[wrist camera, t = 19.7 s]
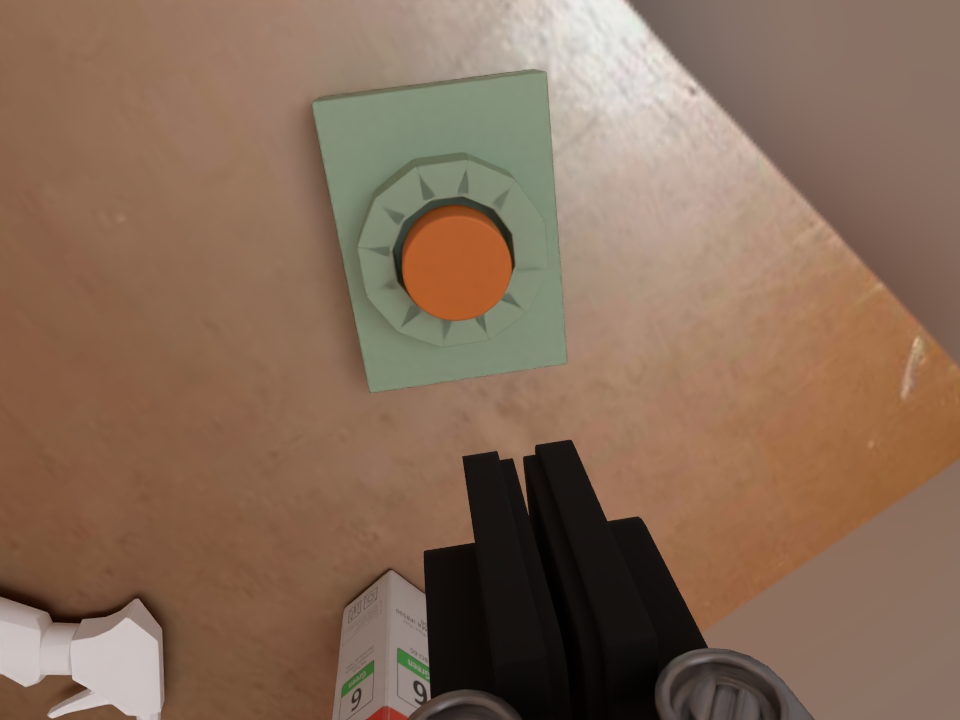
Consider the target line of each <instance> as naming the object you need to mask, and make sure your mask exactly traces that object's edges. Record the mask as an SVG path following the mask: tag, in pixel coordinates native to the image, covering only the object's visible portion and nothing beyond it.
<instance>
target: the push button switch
mask: <svg viewBox="0 0 960 720" xmlns="http://www.w3.org/2000/svg"><path fill="white" fill-rule="evenodd" d="M511 271H512V261H511V256H510V252H509V249H508V247H507V244H506V242H505V240H504V239H503V237H502V235H501V233H500V231H499V229H498V228H497V226H496V225H495V224H494V222H493V221H492V220H491V219H490V218H489V217H487V216H486V215H485V214H483V213H482V212H480V211H478V210H476V209H474V208H471V207H468V206H463V205H445V206H441V207H438V208H435V209H432V210H430V211H428V212H427V213H425V214H424V215H422V216H421V217H420V218H419V219H418V220H417V221H416V222H415V223H414V224H413V225H412V227H411V228H410V230H409V231H408V233H407V235H406V237H405V241H404V244H403V249H402V273H403V280H404V284H405V286H406V289H407V291H408V293H409V295H410V297H411V298H412V299H413V301H414V302H415V303H416V304H417V305H418V306H419V307H420V308H421V309H423V310H424V311H425V312H427V313H429V314H430V315H432V316H435V317H437V318H440V319H444V320H450V321H461V320H468V319H472V318H475V317H478V316H480V315H482V314H484V313H485V312H487V311H489V310H490V309H491V308H492V307H494V306H495V305H496V304H497V303H498V302H499V300H500V299H501V298H502V296H503V295H504V293H505V291H506V289H507V287H508V285H509V282H510V278H511Z"/></svg>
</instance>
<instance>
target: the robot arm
mask: <svg viewBox="0 0 960 720" xmlns="http://www.w3.org/2000/svg"><path fill="white" fill-rule="evenodd" d="M462 458H463V465H464V472H465V478H466V485H467V492H468V499H469V505H470V512H471V519H472V526H473V532H474V539H475V543H470V544H464V545H458V546H451V547H445V548H439V549H433V550H427V551H424V574H425V595H426V615H427V636H428V656H429V677H430V697H431V700H429V701H427V702H425V703H424V704H423V705H422V706H420V707H419V708H418V709H417V710H415V711H414V712H413V713H412V714H411V715H410V716H409V718H408V719H407V720H814V718H813V717H812V716H811V715H810V713H809V712H808V711H807V710H806V708H805V707H804V706H803V705H802V703H801V702H800V701H799V700H798V698H797V697H796V696H795V695H794V693H793V692H792V691H791V690H790V689H789V687H788V686H787V685H786V684H785V682H784V681H783V680H782V679H781V678H780V677H778V676H777V675H776V674H775V673H774V672H773V671H772V670H771V669H770V668H769V667H768V666H766V665H764V664H762V663H761V662H759V661H757V660H755V659H754V658H752V657H751V656H748V655H745V654H742V653H738V652H735V651H732V650H728V649H716V648H708V646H707V644H706V643H705V641H704V639H703V637H702V635H701V633H700V631H699V629H698V627H697V625H696V623H695V621H694V619H693V617H692V615H691V613H690V611H689V609H688V607H687V605H686V603H685V601H684V599H683V597H682V596H681V594H680V592H679V590H678V588H677V586H676V584H675V582H674V580H673V578H672V576H671V574H670V572H669V570H668V568H667V566H666V564H665V562H664V560H663V558H662V556H661V554H660V552H659V551H658V549H657V547H656V545H655V543H654V541H653V539H652V537H651V535H650V533H649V531H648V529H647V527H646V525H645V524H644V522H643V520H642V519H641V518H639V517H631V518H625V519H619V520H613V521H607V520H606V517H605V515H604V513H603V510H602V508H601V506H600V503H599V501H598V499H597V497H596V494H595V492H594V490H593V487H592V485H591V483H590V481H589V478H588V476H587V474H586V471H585V469H584V467H583V464H582V462H581V460H580V458H579V455H578V453H577V451H576V448H575V446H574V444H573V442H572V440H565V441H559V442H552V443H546V444H539V445H536V446H535V455H530V456H524V457H523V463H524V473H525V482H526V492H527V501H528V510H529V515H528V512H527V508H526V504H525V501H524V497H523V493H522V490H521V486H520V483H519V479H518V475H517V472H516V468H515V464H514V461H513V459H512V458H511V459H505V460H499V455H498V452H497V451H494V452H488V453H481V454H475V455H469V456H462Z"/></svg>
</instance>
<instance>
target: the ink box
mask: <svg viewBox="0 0 960 720" xmlns="http://www.w3.org/2000/svg"><path fill="white" fill-rule="evenodd" d="M429 700H431V697H430V677H429V656H428V636H427V615H426V595H425V594H424V593H422V592H421V591H420V590H418V589H417V588H416V587H414V586H413V585H412V584H410V583H409V582H407V581H406V580H405V579H404V578H402V577H401V576H400V575H398V574H397V573H395V572H394V571H393V570H389V571H388V572H387V573H386V574H385V575H383V576H382V577H381V578H380V579H379V580H377V581H376V582H375V583H374V584H373V585H372V586H370V587H369V588H368V589H367V590H366V591H364V592H363V593H362V594H361V595H360V596H359V597H358V598H356V599H355V600H354V601H353V602H352V603H350V604H349V605H348V606H347V607H346V608H345V609H344V613H343V622H342V631H341V642H340V651H339V661H338V671H337V680H336V688H335V697H334V706H333V716H332V720H407V719H408V718H409V716H410V715H411V714H412V713H413V712H414V711H415V710H417V709H418V708H419V707H420V706H422V705H423V704H424V703H425V702H427V701H429Z"/></svg>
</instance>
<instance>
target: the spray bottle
mask: <svg viewBox="0 0 960 720" xmlns="http://www.w3.org/2000/svg"><path fill="white" fill-rule="evenodd" d="M1 674H3V675H5V676H7V677H8V678H10V679H12V680H14V681H16V682H17V683H19V684H21V685H23V686H25V687H28V686H31V685H34V684H36V683H39V682H40V681H41V680H42V679H43V678H44V677H45V676H46V675H72V679H73V680H74V681H76V682H78V683H80V684H81V685H83V686H85V687H87V688H88V689H86V690H84V691H82V692H80V693H78V694H76V695H74V696H72V697H70V698H68V699H67V700H65V701H63V702H61V703H60V704H58V705H56V706H54V707H53V708H51V709H50V711H49V713H48V716H49V717H50V718H55V717H58V716H60V715H63V714H66V713H69V712H74V711H78V710H83V709H87V708H92V707H97V706H101V705H106V704H113V705H114V706H115V707H117V708H118V709H119V710H121V711H122V712H123V713H125V714H126V715H133V716H136V717H137V720H161V710H162V706H163V703H164V700H165V696H164V667H163V638H162V628H161V627H160V626H159V624H158V623H157V622H156V620H155V619H154V618H153V617H152V615H151V614H150V613H149V611H148V610H147V609H146V608H145V606H144V605H143V604H142V602H141V601H140V600H139V599H134V600H133V601H132V602H130V603H129V604H128V605H127V606H126V607H124V608H123V609H122V610H121V611H119V612H116V613H114V614H112V615H110V616H107V617H101V618H91V619H82V621H81V623H80V624H79V623H57V622H55V623H53V621H52V619H51V617H50V615H49V613H48V612H45V611H42V610H39V609H36V608H33V607H30V606H27V605H24V604H21V603H18V602H15V601H12V600H9V599H6V598H3V597H0V675H1Z"/></svg>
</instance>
